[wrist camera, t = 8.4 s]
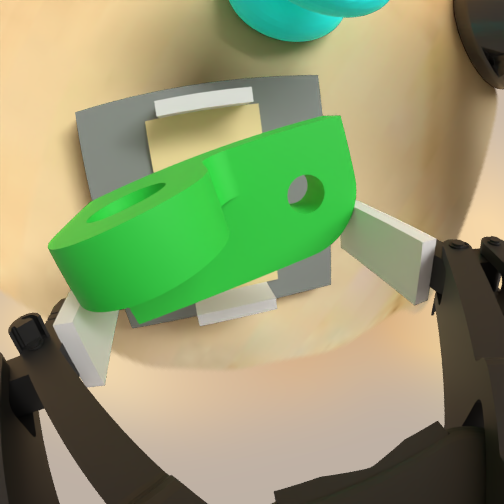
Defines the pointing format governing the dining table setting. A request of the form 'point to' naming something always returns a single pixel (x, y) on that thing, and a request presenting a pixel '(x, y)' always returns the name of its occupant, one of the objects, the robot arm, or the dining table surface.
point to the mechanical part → (210, 222)
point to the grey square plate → (193, 144)
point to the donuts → (300, 16)
